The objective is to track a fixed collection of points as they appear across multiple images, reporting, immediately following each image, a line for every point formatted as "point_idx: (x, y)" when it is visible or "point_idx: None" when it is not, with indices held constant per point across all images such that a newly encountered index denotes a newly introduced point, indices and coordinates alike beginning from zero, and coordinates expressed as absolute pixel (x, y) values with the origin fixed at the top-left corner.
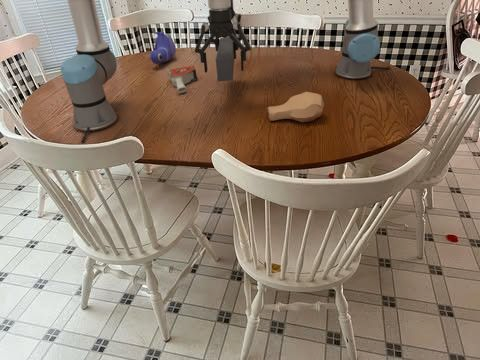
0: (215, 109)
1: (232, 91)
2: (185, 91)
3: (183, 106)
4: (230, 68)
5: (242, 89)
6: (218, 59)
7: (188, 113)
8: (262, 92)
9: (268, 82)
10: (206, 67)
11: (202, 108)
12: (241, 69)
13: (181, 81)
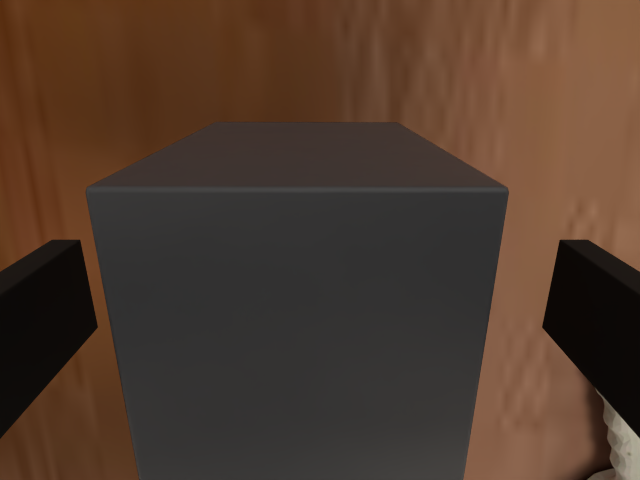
0: (399, 91)
1: None
2: None
3: (626, 169)
4: (193, 146)
5: None
6: (434, 185)
7: (602, 40)
8: None
9: (75, 461)
10: (597, 273)
11: (493, 119)
12: (67, 247)
13: (634, 470)
